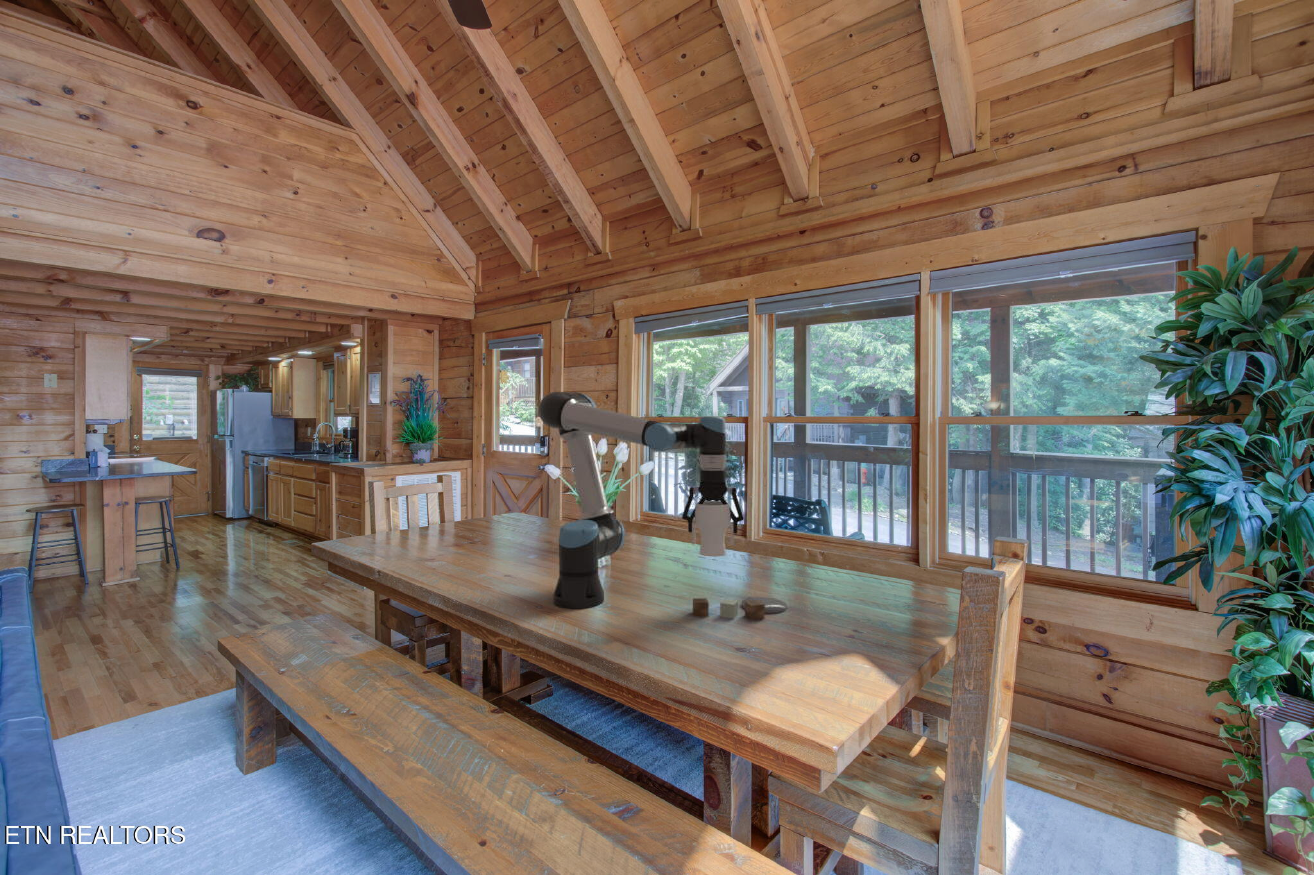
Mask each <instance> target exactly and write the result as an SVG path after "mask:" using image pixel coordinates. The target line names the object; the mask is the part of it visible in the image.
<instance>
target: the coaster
mask: <svg viewBox="0 0 1314 875" xmlns="http://www.w3.org/2000/svg"><path fill="white" fill-rule="evenodd" d="M754 600H758V601H760V602H762V603H763V604H765V615H769V614H770V615H773V614H780V613H783V612H785V611H786V610H787V603H786V602H785V601H783V600H781V599H778V598H774V597H768V596H753V597H747V598H745V599H743V600H742V601H741V604H740V606H741V607H742V609H744V610H745V601H754Z"/></svg>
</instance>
